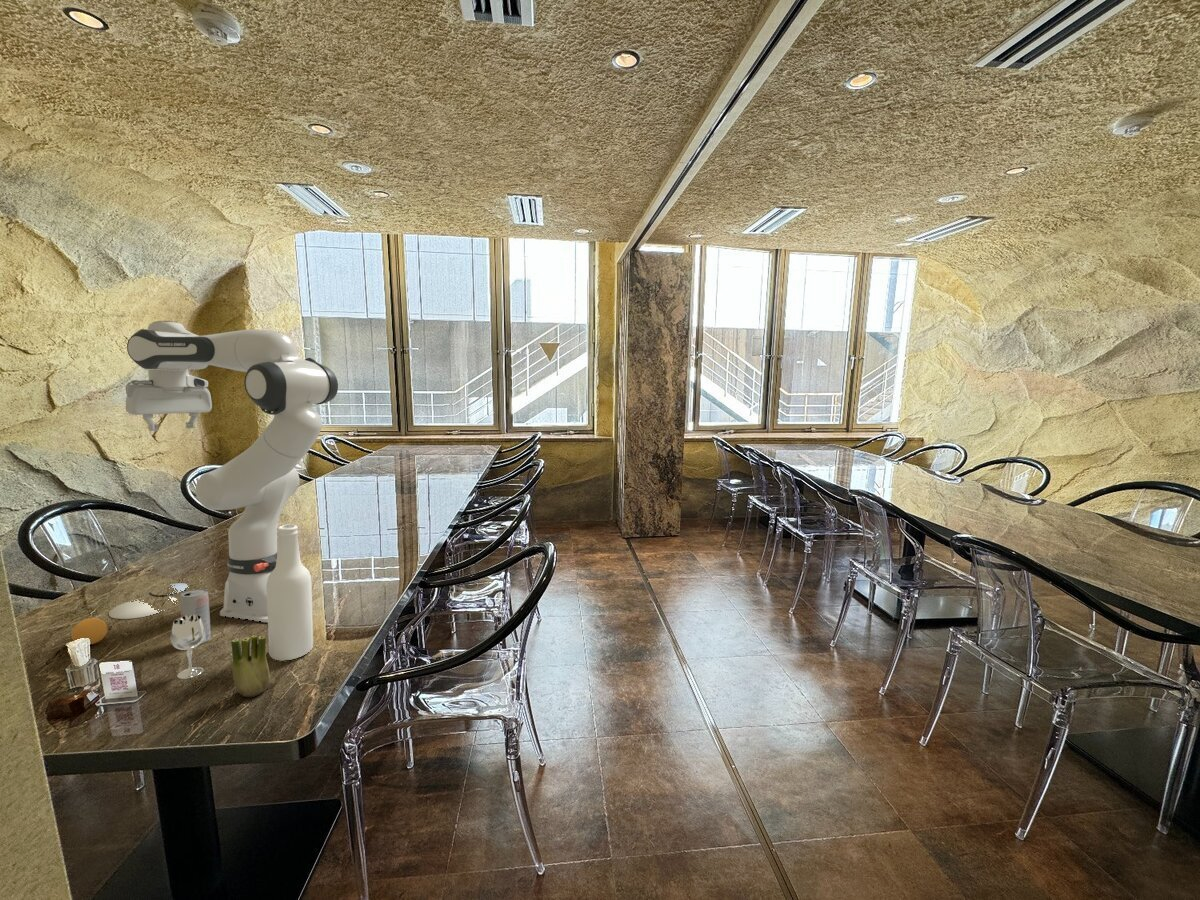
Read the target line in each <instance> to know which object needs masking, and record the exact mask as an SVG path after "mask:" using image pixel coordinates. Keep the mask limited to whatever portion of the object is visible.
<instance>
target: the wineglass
mask: <svg viewBox="0 0 1200 900" xmlns="http://www.w3.org/2000/svg"><path fill="white" fill-rule="evenodd" d="M204 638H205V626H204V623H203V620H202V618H201V616H200V615H187V616H183V617H181V616H180V617H177V618H176V619H174V620H173V622H172V625H171V630H170V642H171V645H172V646H173V648H175V649H177V650H181V651H185V650H186V652H185V653H186V657H187V659H188V668H186V669H183V670H181V671H180V672H179V673H178V674H177V675H176V677H177V678H178V679H181V680H186V679H192V678H195V677H197V676H199V675H201V674H202V673H203V672H204V670H205V669H204V668H203V667H200V666H193V665H192V655H193V650H192V649H194V648H196V647H198V646H200V645H202V644H201V643H202V641H203V640H204ZM199 644H200V645H199Z"/></svg>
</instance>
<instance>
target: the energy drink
mask: <svg viewBox="0 0 1200 900" xmlns="http://www.w3.org/2000/svg"><path fill="white" fill-rule="evenodd" d="M209 598H210V596H209V592H208V590H207V589H206V588H193V589H188V590H186V591H183V592H181V594H180V597H179V607H180V608H179V610H180V617H183V616H187V615H200V616H201V618H202V620H203V623H204V626H205V638H204V640H203V641H202V643H201V644H199V645H198V646H200V645H203V644H205V643H208V641H209V640H210V639H211V638H212V637H211V636H212V635H211V618H210V617H211V616H210V615H211V614H210V600H209Z"/></svg>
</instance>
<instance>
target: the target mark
mask: <svg viewBox="0 0 1200 900" xmlns="http://www.w3.org/2000/svg"><path fill="white" fill-rule="evenodd" d="M168 596H169V598H170V599H171V601H172V602H173V600H174V601H176V600H178V598H176V597H174V596H171V595H168ZM171 597H172V598H171ZM138 599H139V598H137V599H133V600H134V602H131V601H132V600H130V602H129V601H126V602H123V603H121V604H119V605H116V606H114V607H113V608H112V609H110V610H109V612H108V616H109V617H110V618H112V619H115V620H132V619H140V618H146V616H147V617H149V616H150V615H151V616H154V615H153V614H155V615H157V614H156V613H158V614H160V613H159V612H160V611H159V612H158V611H157V610H154V608H151V606H152V605H151V606H150V605H148V603H144V602H140V601H139V600H138ZM135 600H137V601H135ZM168 600H169V599H168ZM143 601H144V600H143ZM139 602H140V603H139ZM177 602H178V601H177ZM143 603H144V604H143ZM173 603H174V602H173ZM175 604H176V603H175ZM176 605H177V604H176ZM158 610H159V609H158ZM161 611H162V610H161ZM164 612H166V611H165V610H164ZM151 616H150V617H151Z"/></svg>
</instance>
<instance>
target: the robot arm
mask: <svg viewBox="0 0 1200 900" xmlns="http://www.w3.org/2000/svg"><path fill="white" fill-rule="evenodd" d="M126 350H127V354H128V356H129V357H130V359H131V360H132V361H133V362H134V363H135V364H136V365H137V366H139V367H140V368H142V369H144V370H147V373H148V379H147V380H146V379H143V380H137V379H133V380H131V381H129V382H128V383H126V385H125V394H126V398H125V411H126V412H127V413H128V414H129V415H132V416H134V415H135V416H140V415H141V416H142V419H143V420H144V422H145V423H146V424H147V425H148V431H150V432H157V431H159V424H157V423H155V422H154V421H153V418H154V415H165V414H166V415H167V414H170V415H171V414H173V415H174V414H188V416H189V417H190V418H189V420H188V422H186V421H185V428H186V429H188V430H189V429H191V430H192V429H195V428H196V422H197V420H198V419H199V417H200V415H199V413H200V414H201V413H209V412H211V411H212V409H213V401H212V396H211V395H212V394H211V392H210V390H209V389H208V387H209V381H208V380H206V379H203V378H201V377H198V376H194V375H192V374H190V372H189V370H190V371H191V370H198V371H199V370H203V369H207V368H208V367H210V366H211V367H212V366H213V367H217V368H223V369H227V370H232V371H236V372H237V371H238V372H242V373H245V376H244V379H243V380H244V382H243V383H244V389H245V392H246V394H247V396H249V398H250V399H251V401H252V402H253V403H254V404H255V405H257V406H258V407H259V408H260V410H261V411H262V412H263V413H264V414H265V413H266V414H268V415H273V418H272V420H271V421H270V422H269V424H268V425H267V426H266V428H265V429H264V430H263V431H262V433H261V434H260V435H259V436H258V438H257V439H255V441H254V442H253V443H252V444H251V445H250V446H249V447H248V448H246V449H245V450H244V451H243V452H242V453H240V454H238V455H237V456H235V457H233V458H232V459H231V460H229V461H228V462H226V463H224V464H222V465H221V466H219V467H217V468H215V469H212V470H211V471H208V472H205V473H203V474H202V475H201V476H200V477H199V478H198V480H197V482H196V484H195V495H196V500H197V501H198V502H199V504H201V505H202V506H203V507H204V508H205V509H208V510H211V511H225V510H226V511H227V510H237V509H241V508H244V511H243V512H242V514H241V515H240V517H238V518H237V519H236V520H235V521H234V522H233V523H232V524H231V525H230V526H229V527H228V532H227V534H228V535H227V537H228V555H227V561H226V565H227V570H228V572H229V573H228V576H227V579H226V581H225V583H224V591H223V592H224V593H223V594H224V595H223V596H224V597H223V608H221V610H220V611H219V616H220V617H225V616H226V617H227V618H232V617H234V618H233V619H238V618H240V620H245V619H248V620H247V621H252V620H254V621H253V622H259V621H261V623H268V612H267V587H266V584H267V580H268V576H269V575H270V573H271V572H272V571H273V570H274V569H275V567H276V564H277V546H278V535H277V533H278V530H277V528H278V527H279V526H278V524H279V521H280V517H281V514H282V512H283V509H284V507H285V505H286V503H287V502H288V500H289V499H290V498H291V496H292V495H294V494H295V493H296V491H298V489H299V485H300V474H299V472H298V470H297V469H296V467H297V465H298V464H299V462H300V461H301V460H302V459H303V458H304V457H305V456H306V455H307V453H308V452H309V450H310V449H311V448H312V447H313V445H314V444H315V442H316V441H317V440H318V439H317V438H318V437H319V435H320V432H321V430H322V427H323V421H322V418H321V416H320V414H319V413H318V412H317V411H316V410H315V409H313V405H317V406H318V405H322V404H325V403H329V402H330V401H332V400H334V399H335V398H336V396H337V394H338V391H339V390H338V389H339V382H338V379H337V376H336V374H335V373H334V372H333V371H332V370H331V368H329V367H328V366H326V365H323V364H321V363H319V362H317V361H316V360H314V359H313V358H311V357H307V358H305V359H303V358H301V357H300V356H299V355H298V350H297V346H296V344H295V342H294V341H293V339H292V338H290V337H289V336H288V335H287V334H284V333H281V332H278V331H273V330H267V329H242V330H234V331H228V332H227V331H225V332H221V333H214V334H213V333H212V334H205V335H198V334H196V333H194V332H191V331H189V330H187V329H186V328H185V326H184V324H182V323H180V322H177V321H169V320H163V321H159V320H158V321H152V322H151V323H149V324H148V327H147V328H146V329H144V328H141V329H139V330H137V331H136V332H134V333H133V334H132V335H131V337H129V338H128V340H127V344H126Z"/></svg>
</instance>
